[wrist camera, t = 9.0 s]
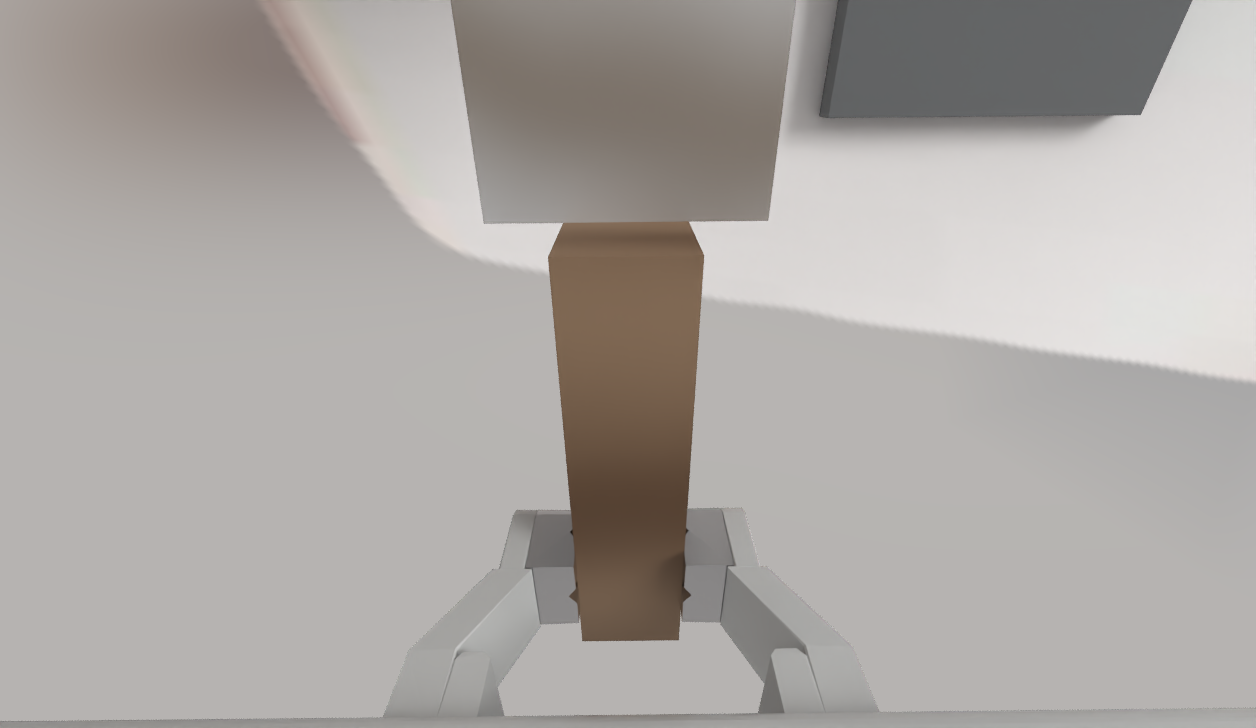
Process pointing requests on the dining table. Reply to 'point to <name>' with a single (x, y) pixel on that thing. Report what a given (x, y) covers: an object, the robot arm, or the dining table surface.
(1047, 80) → the tool mat
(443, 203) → the dining table surface
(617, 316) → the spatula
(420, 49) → the dining table surface
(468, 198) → the dining table surface
